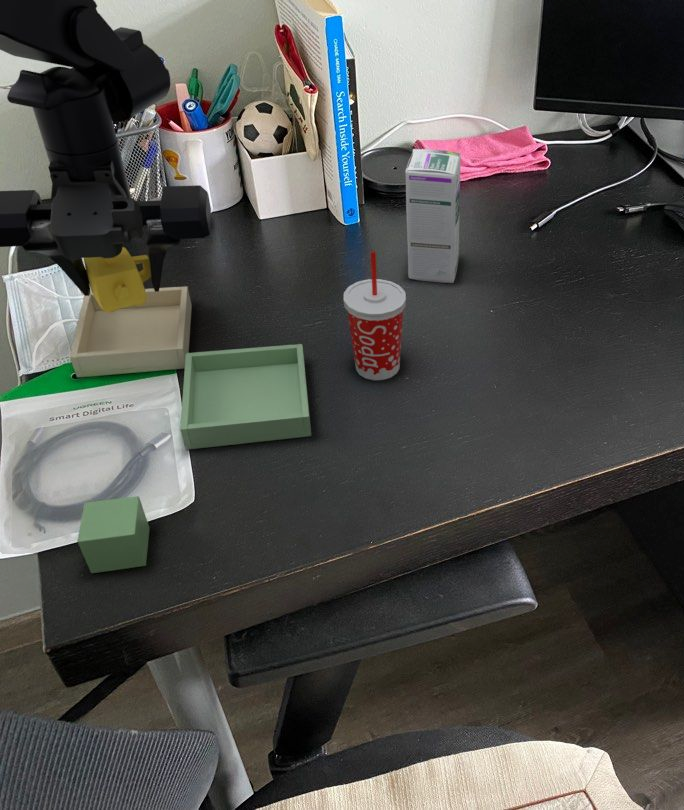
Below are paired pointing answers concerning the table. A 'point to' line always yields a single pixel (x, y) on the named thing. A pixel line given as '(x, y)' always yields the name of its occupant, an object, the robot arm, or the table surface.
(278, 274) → the table surface
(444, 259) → the syrup box
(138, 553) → the green cube
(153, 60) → the robot arm
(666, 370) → the table surface
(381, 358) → the beverage cup
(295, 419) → the green tray
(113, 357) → the cream tray
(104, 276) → the yellow linking cube
